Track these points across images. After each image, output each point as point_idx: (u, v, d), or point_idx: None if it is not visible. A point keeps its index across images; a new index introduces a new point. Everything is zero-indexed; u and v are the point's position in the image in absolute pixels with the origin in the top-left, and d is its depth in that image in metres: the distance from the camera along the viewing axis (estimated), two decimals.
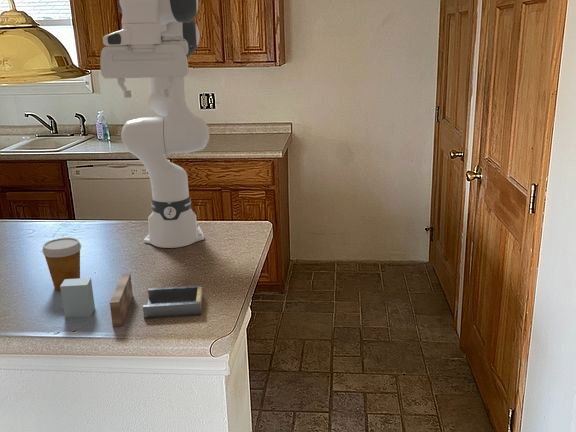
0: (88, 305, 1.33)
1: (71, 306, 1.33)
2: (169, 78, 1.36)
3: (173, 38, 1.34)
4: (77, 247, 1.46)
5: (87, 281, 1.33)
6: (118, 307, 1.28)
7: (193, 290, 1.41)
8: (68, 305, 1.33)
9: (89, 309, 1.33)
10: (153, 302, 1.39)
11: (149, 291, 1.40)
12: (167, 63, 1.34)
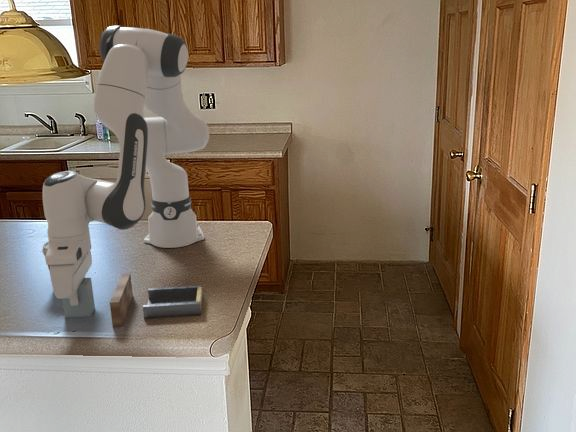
0: (88, 305, 1.33)
1: (71, 306, 1.33)
2: None
3: None
4: None
5: (87, 281, 1.33)
6: (118, 307, 1.28)
7: (193, 290, 1.41)
8: (68, 305, 1.33)
9: (89, 309, 1.33)
10: (153, 302, 1.39)
11: (149, 291, 1.40)
12: (87, 259, 1.37)
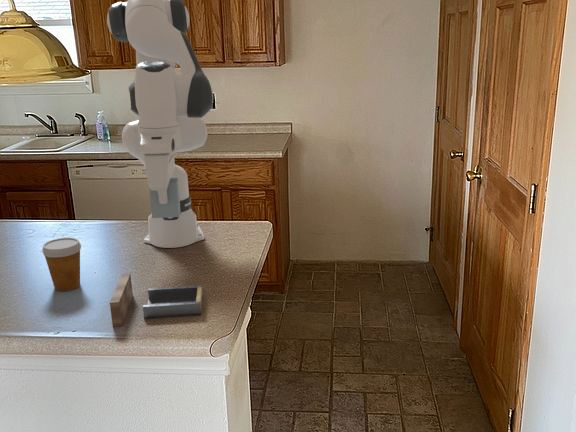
0: (176, 205, 1.28)
1: (159, 205, 1.28)
2: None
3: None
4: (77, 247, 1.46)
5: (175, 180, 1.28)
6: (118, 307, 1.28)
7: (193, 290, 1.41)
8: (156, 204, 1.27)
9: (177, 209, 1.28)
10: (153, 302, 1.39)
11: (149, 291, 1.40)
12: (172, 160, 1.32)
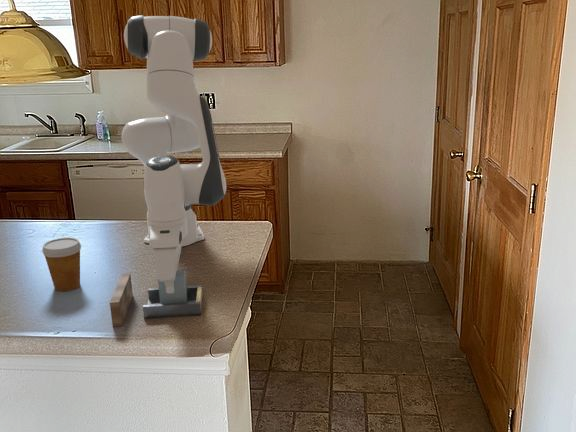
0: (184, 297, 1.35)
1: (167, 297, 1.35)
2: None
3: None
4: (77, 247, 1.46)
5: (183, 273, 1.35)
6: (118, 307, 1.28)
7: (193, 290, 1.41)
8: (164, 296, 1.34)
9: (185, 300, 1.35)
10: (153, 302, 1.39)
11: (149, 291, 1.40)
12: None
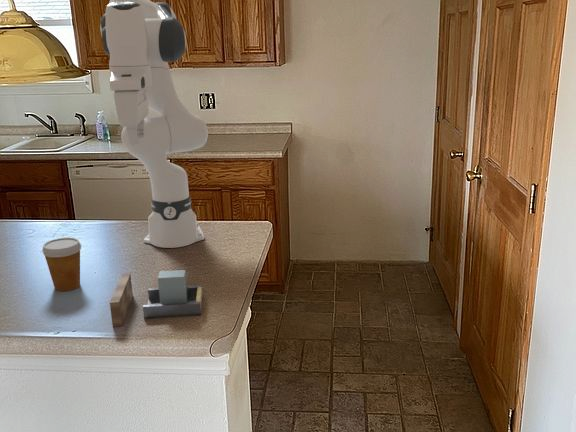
0: (184, 297, 1.35)
1: (167, 297, 1.35)
2: (143, 118, 1.36)
3: None
4: (77, 247, 1.46)
5: (183, 273, 1.35)
6: (118, 307, 1.28)
7: (193, 290, 1.41)
8: (164, 296, 1.34)
9: (185, 300, 1.35)
10: (153, 302, 1.39)
11: (149, 291, 1.40)
12: (145, 104, 1.35)
